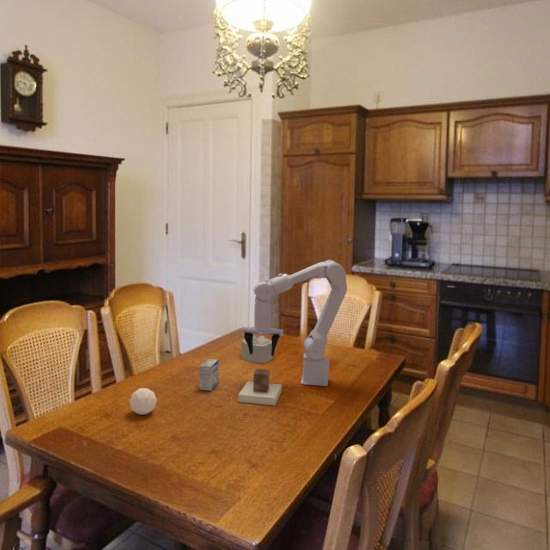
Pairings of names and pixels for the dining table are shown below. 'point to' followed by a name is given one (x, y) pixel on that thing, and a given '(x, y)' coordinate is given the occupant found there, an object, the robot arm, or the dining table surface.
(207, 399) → the dining table surface
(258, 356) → the lumpy-topped squat cylinder
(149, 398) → the geometric ball
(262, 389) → the walnut block
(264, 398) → the base block
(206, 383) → the medicine box
